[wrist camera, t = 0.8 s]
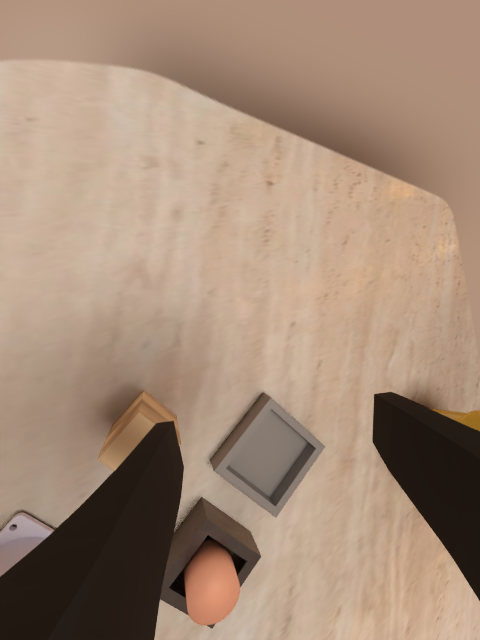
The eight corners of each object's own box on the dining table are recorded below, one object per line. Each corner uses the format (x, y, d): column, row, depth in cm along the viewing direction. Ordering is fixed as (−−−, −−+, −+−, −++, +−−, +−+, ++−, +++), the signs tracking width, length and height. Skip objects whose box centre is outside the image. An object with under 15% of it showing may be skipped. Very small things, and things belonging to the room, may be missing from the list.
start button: (209, 597, 24) (215, 634, 21) (173, 575, 23) (175, 611, 20) (239, 553, 25) (250, 583, 22) (206, 530, 24) (212, 559, 21)
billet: (146, 450, 24) (142, 490, 19) (112, 425, 24) (97, 459, 18) (176, 416, 25) (181, 444, 20) (143, 390, 24) (139, 412, 19)
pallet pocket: (268, 504, 28) (276, 517, 26) (210, 460, 26) (214, 471, 24) (314, 438, 30) (325, 446, 28) (263, 392, 28) (271, 397, 26)
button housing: (206, 594, 26) (212, 628, 23) (152, 562, 25) (151, 593, 22) (250, 531, 28) (261, 556, 25) (201, 497, 26) (207, 519, 23)
